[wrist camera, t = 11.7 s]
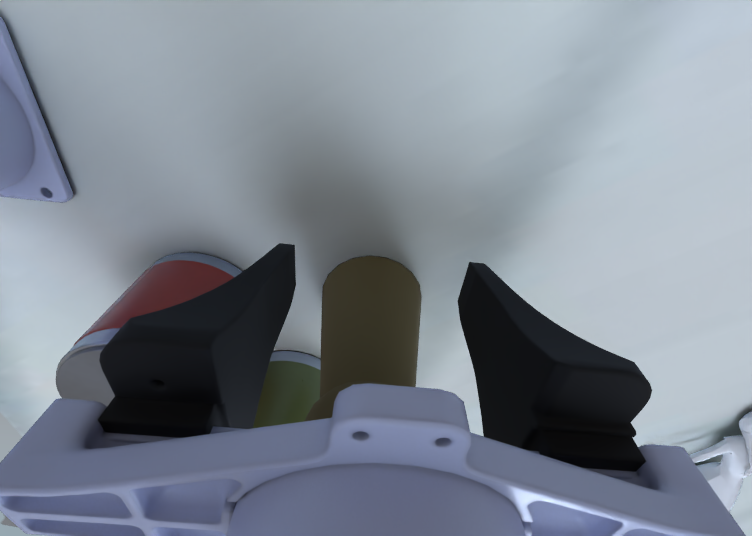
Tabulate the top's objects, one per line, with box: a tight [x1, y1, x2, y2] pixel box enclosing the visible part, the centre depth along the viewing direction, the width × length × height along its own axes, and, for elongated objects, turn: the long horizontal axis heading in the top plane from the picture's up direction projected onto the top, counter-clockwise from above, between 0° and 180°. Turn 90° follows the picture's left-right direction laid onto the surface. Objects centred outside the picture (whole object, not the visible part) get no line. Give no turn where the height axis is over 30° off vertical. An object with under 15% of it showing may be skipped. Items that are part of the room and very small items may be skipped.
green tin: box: [253, 351, 321, 428], centre depth 24 cm, size 8×8×7 cm
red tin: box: [56, 252, 243, 406], centre depth 19 cm, size 8×8×7 cm
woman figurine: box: [689, 411, 752, 513], centre depth 30 cm, size 12×4×18 cm
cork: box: [305, 256, 421, 421], centre depth 17 cm, size 6×6×11 cm
